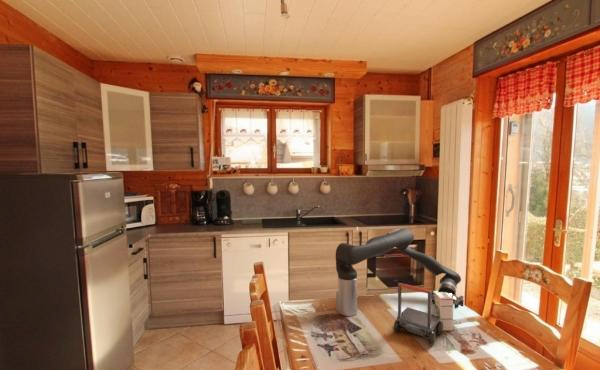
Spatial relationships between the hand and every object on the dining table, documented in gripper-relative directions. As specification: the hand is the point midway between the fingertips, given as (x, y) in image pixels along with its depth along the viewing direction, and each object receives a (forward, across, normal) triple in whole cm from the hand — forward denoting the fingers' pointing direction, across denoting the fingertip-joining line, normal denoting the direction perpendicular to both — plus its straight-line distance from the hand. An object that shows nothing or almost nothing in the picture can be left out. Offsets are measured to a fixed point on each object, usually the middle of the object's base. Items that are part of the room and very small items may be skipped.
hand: (444, 304), depth 129 cm
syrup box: (+1, 0, +10) cm, 10 cm away
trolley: (+11, -9, +10) cm, 17 cm away
